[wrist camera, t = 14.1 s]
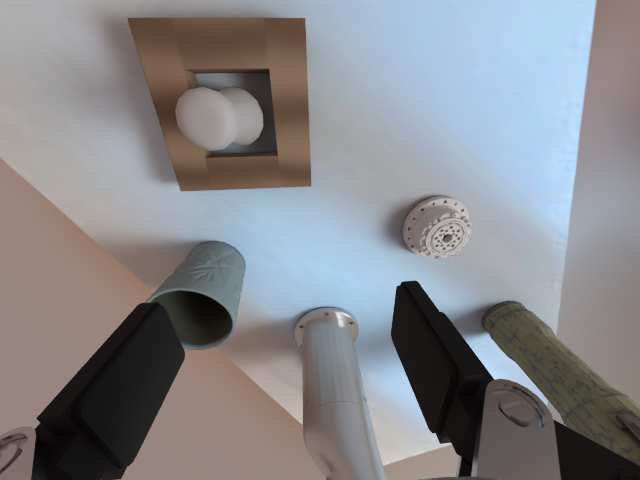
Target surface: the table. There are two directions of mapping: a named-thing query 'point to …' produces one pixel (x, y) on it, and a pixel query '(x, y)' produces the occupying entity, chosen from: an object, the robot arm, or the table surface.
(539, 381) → the green textured column
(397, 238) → the table surface
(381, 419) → the table surface
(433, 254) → the mechanical component
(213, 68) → the holder board
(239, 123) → the salt shaker
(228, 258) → the green embossed cup
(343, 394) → the robot arm
